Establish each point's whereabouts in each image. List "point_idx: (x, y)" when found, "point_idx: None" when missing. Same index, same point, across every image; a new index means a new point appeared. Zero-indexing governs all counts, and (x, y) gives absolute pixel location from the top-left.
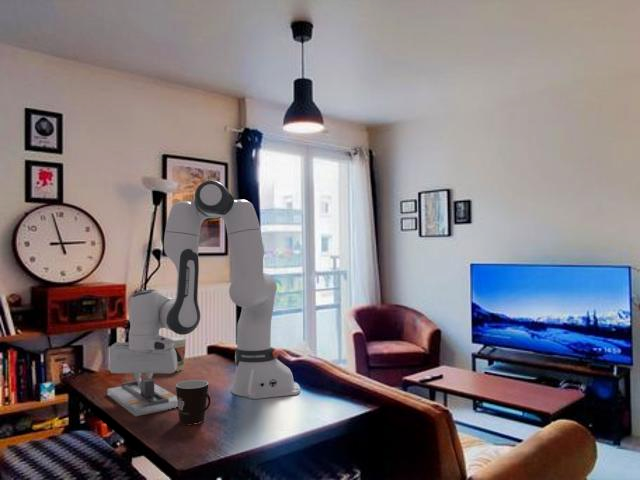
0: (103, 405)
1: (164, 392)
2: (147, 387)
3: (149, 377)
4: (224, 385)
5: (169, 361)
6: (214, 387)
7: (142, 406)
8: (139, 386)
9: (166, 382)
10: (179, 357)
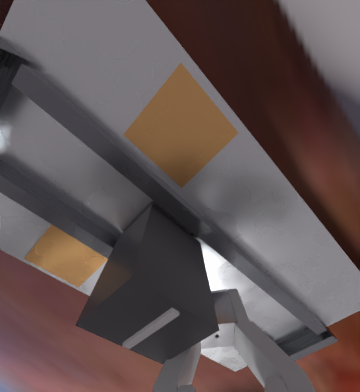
0: (351, 160)
1: None
2: (128, 250)
3: (160, 376)
4: (23, 380)
5: None
6: (38, 367)
7: (55, 9)
8: (227, 293)
9: (202, 377)
10: None
